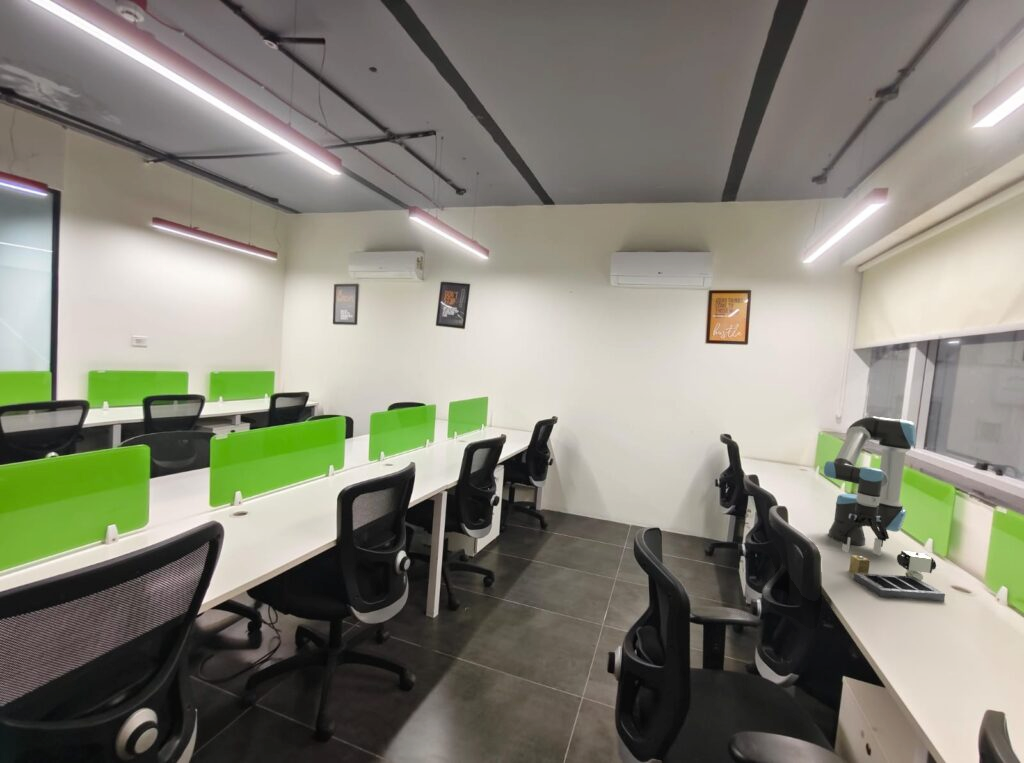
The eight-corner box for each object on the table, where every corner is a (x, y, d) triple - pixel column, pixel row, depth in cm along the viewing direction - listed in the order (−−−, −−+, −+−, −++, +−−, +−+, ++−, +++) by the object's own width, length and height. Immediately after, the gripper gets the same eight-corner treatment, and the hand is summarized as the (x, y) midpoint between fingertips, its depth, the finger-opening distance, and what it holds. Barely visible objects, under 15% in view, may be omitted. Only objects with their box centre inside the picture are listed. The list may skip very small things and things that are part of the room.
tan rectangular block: (849, 570, 188) (851, 553, 188) (859, 571, 188) (861, 554, 188) (857, 576, 184) (859, 558, 183) (867, 576, 184) (870, 559, 183)
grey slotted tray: (853, 579, 180) (854, 572, 180) (912, 583, 180) (913, 576, 180) (880, 597, 167) (881, 589, 167) (944, 601, 167) (945, 593, 167)
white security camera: (933, 584, 181) (937, 556, 180) (901, 579, 183) (905, 552, 182) (924, 578, 186) (928, 551, 185) (892, 573, 188) (896, 546, 188)
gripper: (845, 504, 180) (838, 554, 181) (904, 509, 180) (897, 559, 182) (831, 498, 187) (825, 546, 189) (888, 503, 188) (881, 551, 189)
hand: (860, 552), depth 185 cm, fingers open, 13 cm apart
